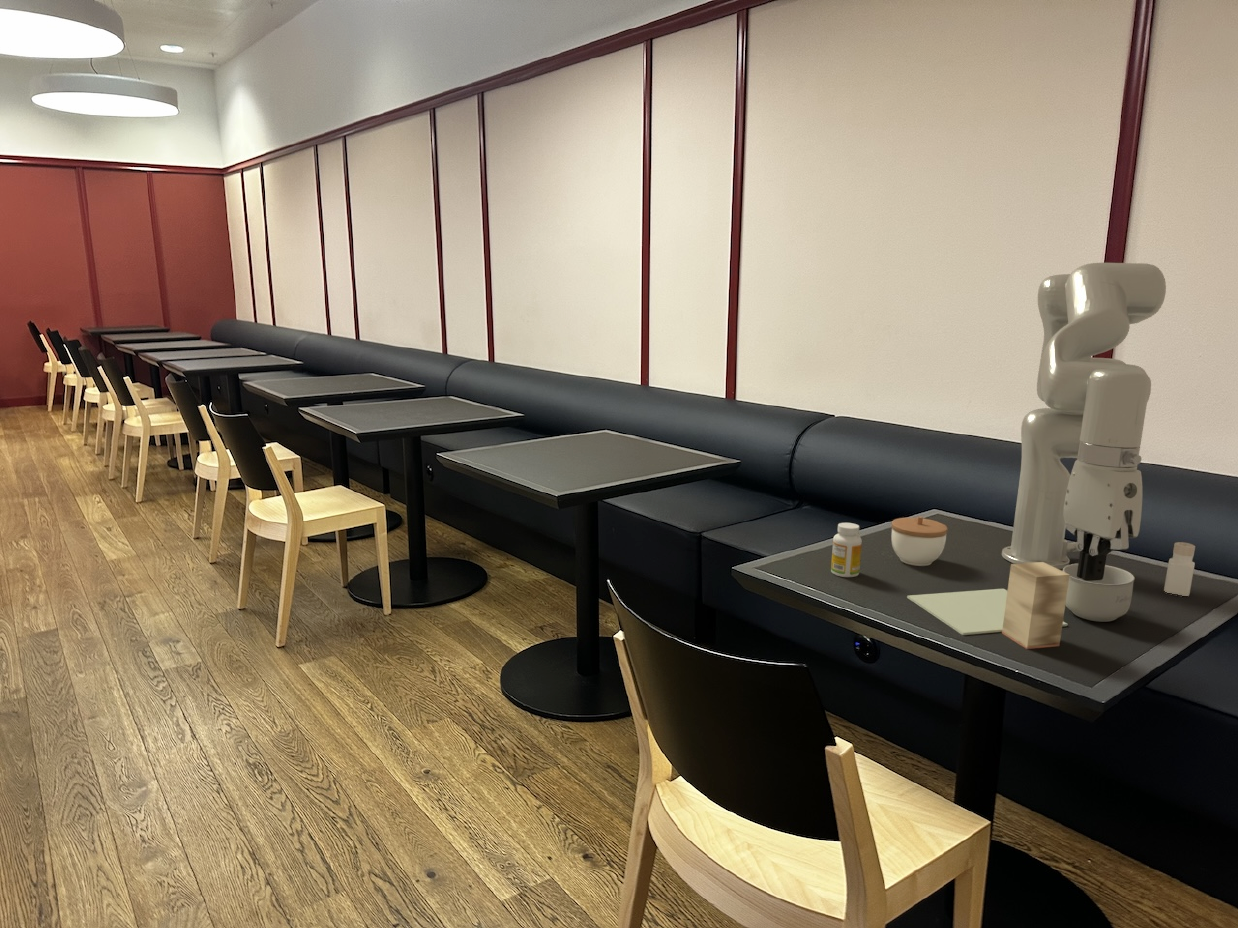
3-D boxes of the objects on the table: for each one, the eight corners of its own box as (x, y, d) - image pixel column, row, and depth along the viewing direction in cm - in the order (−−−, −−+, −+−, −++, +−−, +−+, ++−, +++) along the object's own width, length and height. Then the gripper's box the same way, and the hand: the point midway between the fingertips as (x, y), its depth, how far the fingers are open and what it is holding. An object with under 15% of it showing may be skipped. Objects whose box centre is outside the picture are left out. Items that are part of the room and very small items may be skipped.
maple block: (1033, 630, 143) (1043, 561, 140) (1059, 645, 137) (1069, 574, 134) (1001, 633, 141) (1011, 564, 139) (1026, 648, 136) (1036, 576, 133)
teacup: (1126, 633, 143) (1133, 587, 141) (1053, 618, 148) (1060, 574, 146) (1129, 606, 154) (1136, 564, 152) (1062, 593, 160) (1068, 552, 158)
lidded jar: (912, 549, 183) (917, 507, 181) (955, 564, 174) (960, 520, 172) (877, 557, 178) (881, 513, 176) (919, 573, 169) (923, 527, 167)
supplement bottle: (856, 569, 170) (860, 522, 168) (861, 578, 165) (865, 530, 163) (828, 567, 171) (832, 520, 169) (832, 577, 166) (836, 528, 164)
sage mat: (1003, 590, 161) (1003, 588, 160) (1067, 625, 145) (1067, 623, 145) (907, 597, 156) (907, 595, 156) (962, 635, 140) (962, 632, 140)
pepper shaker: (1164, 587, 164) (1172, 539, 162) (1189, 592, 162) (1198, 544, 160) (1163, 593, 161) (1171, 545, 159) (1188, 598, 159) (1197, 549, 156)
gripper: (1173, 466, 116) (1152, 595, 120) (1090, 445, 130) (1073, 561, 134) (1127, 467, 114) (1107, 598, 118) (1048, 446, 129) (1032, 563, 132)
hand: (1089, 578), depth 126 cm, fingers closed
